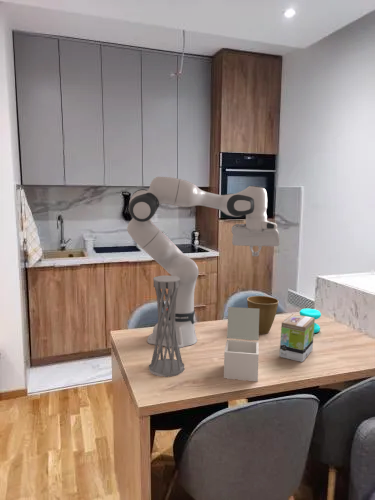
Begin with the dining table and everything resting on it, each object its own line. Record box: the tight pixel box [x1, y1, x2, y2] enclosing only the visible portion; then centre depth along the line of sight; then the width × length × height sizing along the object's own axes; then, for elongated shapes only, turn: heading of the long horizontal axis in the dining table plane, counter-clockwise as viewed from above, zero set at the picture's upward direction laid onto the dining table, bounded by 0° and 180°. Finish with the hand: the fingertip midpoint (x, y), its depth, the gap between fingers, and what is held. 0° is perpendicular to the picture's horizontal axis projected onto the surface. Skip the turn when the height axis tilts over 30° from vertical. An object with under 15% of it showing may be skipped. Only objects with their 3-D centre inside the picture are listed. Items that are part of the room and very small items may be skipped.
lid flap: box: [226, 306, 260, 341], centre depth 148 cm, size 12×12×1 cm
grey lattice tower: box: [148, 275, 185, 378], centre depth 143 cm, size 14×13×35 cm
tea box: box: [279, 313, 316, 363], centre depth 159 cm, size 15×10×15 cm, turn 148°
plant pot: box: [246, 295, 279, 335], centre depth 184 cm, size 15×15×16 cm
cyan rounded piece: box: [299, 308, 322, 334], centre depth 187 cm, size 10×10×10 cm
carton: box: [223, 339, 260, 382], centre depth 141 cm, size 12×12×10 cm
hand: (255, 256), depth 165 cm, fingers closed
